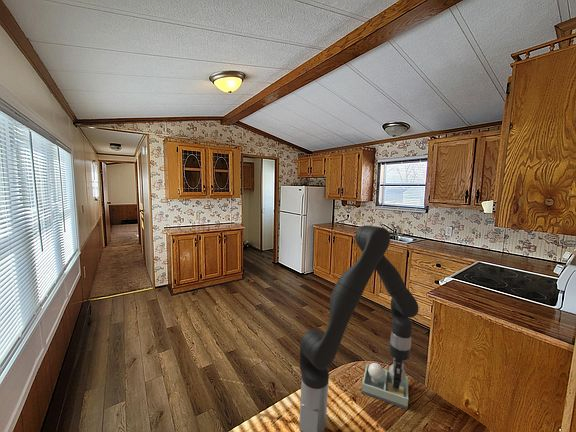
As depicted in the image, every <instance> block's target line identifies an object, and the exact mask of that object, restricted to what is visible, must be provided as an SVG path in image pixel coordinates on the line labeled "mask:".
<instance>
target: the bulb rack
mask: <svg viewBox="0 0 576 432" xmlns="http://www.w3.org/2000/svg"><path fill="white" fill-rule="evenodd" d="M364 368H365V369H364V374H363V378H362V383H361V394H363V395H366V396H369V397H372V398H374V399H377V400H380V401H382V402H385V403H388V404H391V405H394V406H396V407H399V408H401V409H404V410H408V406H409V405H408V404H409V376H408V375H405V378H404V379H403V380H402V381H401V384H400V386H399V390H398V391H395V390H394V389H393V388H392V378H391V376H390V373H389V369H386V368H385V369H384V368H383V367H382V365H380V364H379V363H377V362H372V363H370V364H369V363H366V364H365V367H364Z"/></svg>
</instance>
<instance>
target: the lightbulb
mask: <svg viewBox="0 0 576 432" xmlns="http://www.w3.org/2000/svg"><path fill="white" fill-rule="evenodd" d="M393 365H394V364H393V363H392V364H391V365H390V366H389V369H388V371H389V373H390V376H391V378H392V388H393V389H394V390H395V391H398V390H399V389H396V388H394V387H393V383H394V380H393V377H394V372H393ZM405 376H407V374H406V370H405V368H404V367H403V373H402V375H401V381H402V380H403V379H404V378H405ZM400 384H401V382H400Z"/></svg>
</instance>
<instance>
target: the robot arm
mask: <svg viewBox="0 0 576 432" xmlns="http://www.w3.org/2000/svg"><path fill="white" fill-rule="evenodd" d="M354 239H355V243H356V245H357V247H358V248H359V249H360V250H361V254H360V256H359V258H358V259H357V261H356V262H355V263H353V265H352V266H350V267H349V268H348V269H346V271H344V272H343V273H341V275H340V277H339V278H338V279H337V282H336V283H335V285H334V287H333V289H332V291H331V294H330V299H329V321H328V324H327V326H326V327H327V328H326V330H325V332H324V334H323V333H322V332H321V331H319V330H317V329H309V330H308V331H306V332H305V333H304V334H303V336H302V338H301V341H300V346H299V369H300V372H301V385H300V387H301V388H300V403H299V404H300V406H299V431H301V432H324V431H325V430H326V426H327V412H328V411H327V409H328V408H327V407H328V395H329V383H330V382H329V381H330V380H329V379H330V373H329V370H328V367H329V366H330V365H331V364H332V363H333V361H334V360H335V358H336V355H337V354H338V351H339V347H340V345H341V341H342V339H343V336H344V334H345V331H346V329H347V326H348V325H349V323H350V320H351V318H352V315H353V313H354V311H355V309H356V308H357V306H358V304H359V302H360V299H361V298H362V295H363V294H364V291H365V289H366V287H367V285H368V284H369V281H370V279H371V277H372V275H373V273H374V272H375V271H376V273H377V275H378V276H379V278H380V279H381V282H382V284H383V286H384V288H385V290H386V292H387V293H388V295H390V297H391V300H390V310H391V318H392V328H391V333H390V339H389V348H388V349H389V351H388V352H389V354H390V355H391V357H393V358H392V364H394V365H393V372H394V377H393V380H394V383H393V387H394V388H396V389H399V386H400V382H401V375H402V373H403V368H404V367H405V361H407V360H409V359H410V356H411V348H412V331H413V322H412V320H410V319H411V318H414V317H416V316H417V315H418V313H419V304H418V301H417V300H416V298H415V297H414V295H413V294H412V292H411V291H410V290H409V289H408V288H407V286H406V284H405V282H404V280H403V278H402V276H401V274H400V272H399V271H398V270H397V268H396V267H395V266H394V265H393V264H392V263H391V261H390V260H388V258H387V257H386V256H385V254H386V252H387V251H388V248H389V246H390V243H391V234H390V232H389V230H388V229H387V228H384V227H383V226H382V227H381V226H374V225H362V226H360V227H358V228H357V230H356V231H355V236H354Z"/></svg>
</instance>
